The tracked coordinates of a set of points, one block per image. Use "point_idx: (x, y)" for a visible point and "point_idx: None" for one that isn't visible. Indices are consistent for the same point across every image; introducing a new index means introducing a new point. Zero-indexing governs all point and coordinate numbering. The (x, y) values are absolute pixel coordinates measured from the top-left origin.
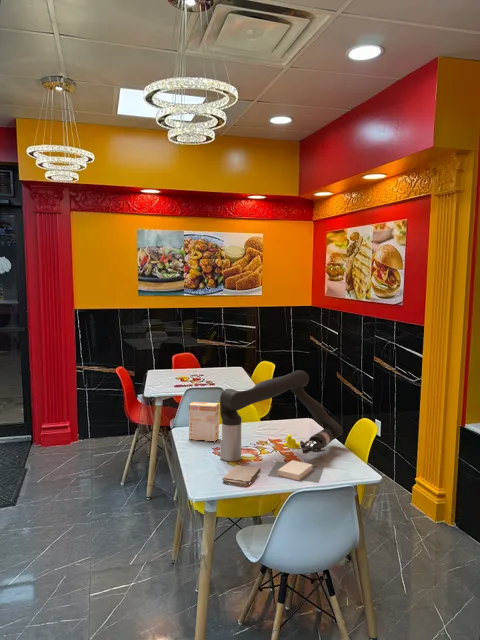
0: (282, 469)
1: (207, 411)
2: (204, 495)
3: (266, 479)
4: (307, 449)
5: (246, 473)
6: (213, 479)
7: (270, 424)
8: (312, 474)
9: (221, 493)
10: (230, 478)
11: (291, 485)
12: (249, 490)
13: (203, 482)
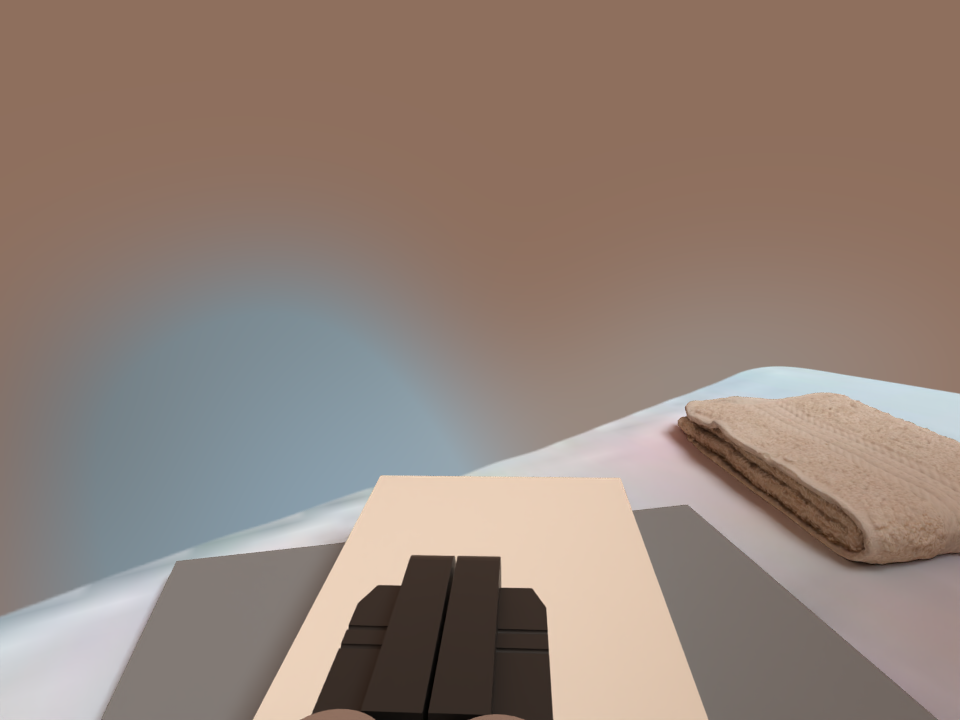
0: (588, 493)
1: None
2: (748, 370)
3: (666, 505)
4: (384, 614)
5: (799, 435)
6: (917, 424)
7: None
8: (247, 681)
9: (712, 386)
10: (799, 398)
11: None
12: (630, 419)
13: (902, 402)
